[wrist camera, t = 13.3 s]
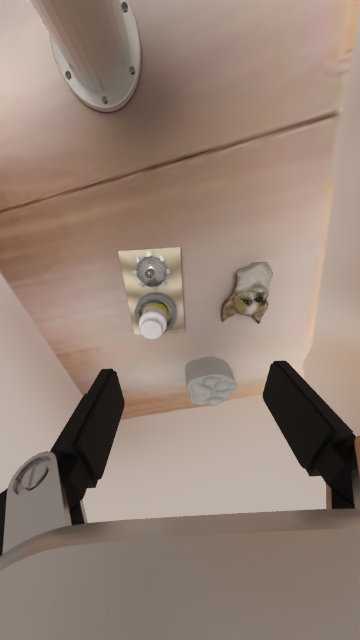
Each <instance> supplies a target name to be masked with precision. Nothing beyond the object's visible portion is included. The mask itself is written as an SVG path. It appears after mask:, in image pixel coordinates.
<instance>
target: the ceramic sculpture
mask: <svg viewBox="0 0 360 640" xmlns="http://www.w3.org/2000/svg"><path fill="white" fill-rule="evenodd" d="M236 273H237V285H236V288H235V290H234V294H233V295H231V296H230V297H229V298H228V299H227V300H226V301H225V303H224V305H223V307H222V313H221V316H222V322H223V321H224V320H225V319H227V318H229V317H231V316H232V315H234V314H235V313H236V311H238V312H239V313H241V314H243V315H248V316H249V315H251V316H252V317H253V318H254V319H255V320H256V322H257V323H258V324H259V323H260V320H261V317H262V316H263V314H264V313H265V312H266V310H267V306H268V301H267V297H268V295H269V282H270V280H271V278H272V276H273V272H272V270H271V268H270V266H269V265H268V263H267V262H254V263H251V264H250V265H248V266H246V267H244V268H241V269H238V271H237V272H236Z"/></svg>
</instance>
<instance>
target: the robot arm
mask: <svg viewBox="0 0 360 640" xmlns="http://www.w3.org/2000/svg"><path fill="white" fill-rule="evenodd" d="M30 1H31V3H32V4H33V6H34V8H35V9H36V11H37V13H38V14H39V16H40V18H41V20H42V21H43V23H44V25H45V26H46V28H47V30H48V31H49V36H50V41H51V47H52V50H53V54H54V57H55V60H56V63H57V65H58V67H59V70H60V72H61V74H62V75H63V77H64V79H65V81H66V82H67V84H68V85H69V87H70V88H71V90H72V91H73V92H74V94H75V95H76V96H77V97H78V98H79V99H80V100H81V101H82V102H83V103H85V104H86V105H87V106H89V107H91V108H93V109H94V110H97V111H101V112H112V111H115V110H118V109H119V108H121V107H123V106H124V105H125V104H126V103H127V102H128V101H129V100H130V98H131V96H132V95H133V93H134V91H135V89H136V86H137V84H138V80H139V75H140V68H141V46H140V39H139V33H138V28H137V24H136V19H135V17H134V14H133V11H132V8H131V5H130V3H129V1H128V0H30ZM106 103H107V104H106ZM263 399H264V401H265V403H266V405H267V407H268V409H269V410H270V412H271V414H272V416H273V417H274V419H275V421H276V423H277V425H278V426H279V428H280V430H281V432H282V433H283V435H284V437H285V439H286V440H287V442H288V444H289V446H290V447H291V449H292V451H293V453H294V455H295V456H296V458H297V460H298V462H299V463H300V465H301V466H302V467H303V468H305V469H306V470H307V472H308V474H309V476H322V477H323V479H324V481H325V482H326V509H321V510H320V509H318V510H297V511H276V512H256V513H238V514H220V515H201V516H183V517H167V518H150V519H135V520H120V521H108V522H96V523H87V518H86V514H85V509H84V505H83V501H82V499H83V497H84V495H85V492H86V489H87V488H95V487H96V484H97V481H98V480H99V479H101V478H102V475H103V473H104V470H105V466H106V463H107V460H108V457H109V454H110V450H111V447H112V444H113V441H114V438H115V434H116V431H117V428H118V425H119V422H120V418H121V415H122V412H123V409H124V398H123V395H122V391H121V387H120V384H119V380H118V376H117V373H116V371H113V369H102V370H101V371H100V373H99V374H98V376H97V378H96V379H95V381H94V383H93V385H92V386H91V388H90V390H89V391H88V393H87V394H85V395H84V396H83V398H82V399H81V401H80V403H79V404H78V406H77V408H76V409H75V411H74V413H73V414H72V416H71V418H70V419H69V421H68V422H67V424H66V426H65V427H64V429H63V431H62V432H61V434H60V436H59V437H58V439H57V441H56V442H55V444H54V446H53V447H52V449H51V451H50V452H47V451H46V452H42V453H39V454H37V455H36V456H33V457H32V458H30V459H29V460H28V461H26V462H25V463H24V465H22V466H21V467H20V468H19V469H18V471H17V472H16V473H15V475H14V476H13V478H12V479H11V481H10V484H9V486H8V488H7V489H6V490H5V491H3V492H2V493H1V494H0V640H360V436H357V437H356V436H355V435H354V434H353V433H352V432H353V431H352V430H351V429H350V428H349V427H348V426H347V425H346V424H345V423H344V422H343V421H342V420H341V418H340V417H338V415H337V414H336V413H335V412H334V411H333V410H332V409H331V408H330V407H329V406H328V405H327V404H326V403H325V402H324V400H323V399H322V398H321V397H320V396H319V395H318V394H317V393H316V392H315V391H314V390H313V389H312V388H311V387H310V386H309V385H308V384H307V382H306V381H305V380H304V379H303V378H302V377H301V376H300V375H299V374H298V373H297V372H296V371H295V370H294V369H293V368H292V367H291V366H290V364H289V363H288V362H286V361H274V362H273V364H271V366H270V370H269V373H268V377H267V381H266V384H265V388H264V392H263Z"/></svg>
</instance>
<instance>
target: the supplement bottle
mask: <svg viewBox="0 0 360 640" xmlns="http://www.w3.org/2000/svg"><path fill="white" fill-rule="evenodd" d="M167 318H168V309H167V307H166V305H165V304H164V303H162V302H160V301H152V302H150V303H149V304H148V305H147V306H146V308H145V310H144V312H143V314H142V316H141V318H140V320H139V328H140V330H141V333H142V335H143V336H144V337H145V338H147V339H156V338H158V337H159V336H160V335H161V334H163V333H164V332H165V330H166V327H167Z"/></svg>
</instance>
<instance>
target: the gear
mask: <svg viewBox="0 0 360 640" xmlns="http://www.w3.org/2000/svg"><path fill="white" fill-rule="evenodd" d="M146 254H147V257H144V258H142V259H140V258H139V257H137V258H136V259H135V262H136V263H138V264H137V267H136V270H133V271H132V272H133V276H135V275H137V277H138V279H139V280H140V283H139V284H138V285H140V286H141V287H143V286H144V285H146V286H149V287H151V291H153V290H156V286H158V285H160V284H162V285H163V286H165V285H166V283H167V281H166V280H165V277H166V274H167V273H170V268H166V267H165V264H164V263H163V261H164V259H165V258H164V257H163V256H162V255H161V256H160V258H158V257H155V256H152V252H146Z"/></svg>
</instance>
